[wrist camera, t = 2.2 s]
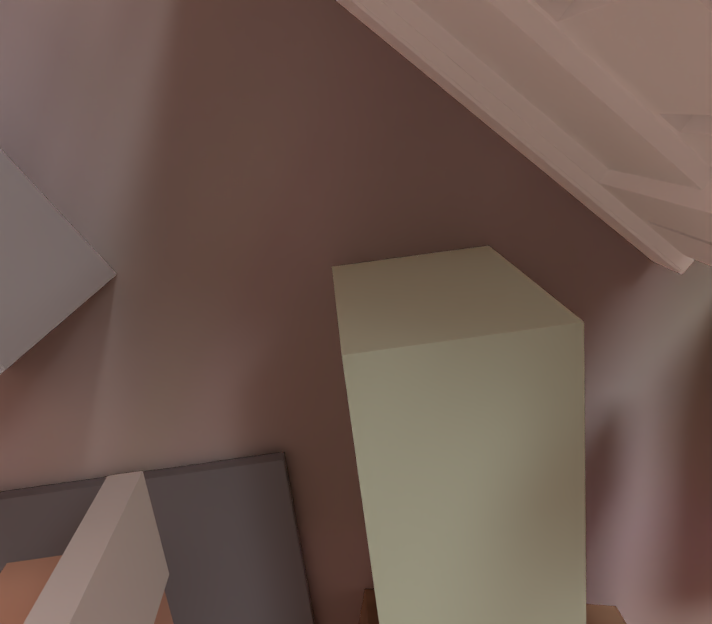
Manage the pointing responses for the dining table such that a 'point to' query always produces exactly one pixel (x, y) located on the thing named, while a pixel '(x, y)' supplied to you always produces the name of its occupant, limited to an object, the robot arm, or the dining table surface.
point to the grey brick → (39, 265)
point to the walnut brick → (599, 618)
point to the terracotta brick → (39, 590)
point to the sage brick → (466, 438)
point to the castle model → (584, 99)
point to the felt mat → (191, 537)
